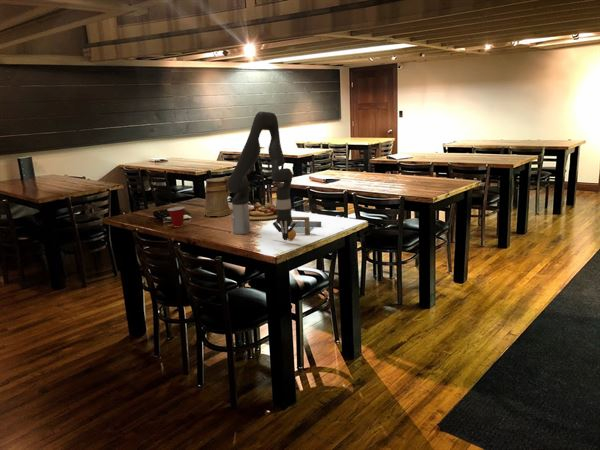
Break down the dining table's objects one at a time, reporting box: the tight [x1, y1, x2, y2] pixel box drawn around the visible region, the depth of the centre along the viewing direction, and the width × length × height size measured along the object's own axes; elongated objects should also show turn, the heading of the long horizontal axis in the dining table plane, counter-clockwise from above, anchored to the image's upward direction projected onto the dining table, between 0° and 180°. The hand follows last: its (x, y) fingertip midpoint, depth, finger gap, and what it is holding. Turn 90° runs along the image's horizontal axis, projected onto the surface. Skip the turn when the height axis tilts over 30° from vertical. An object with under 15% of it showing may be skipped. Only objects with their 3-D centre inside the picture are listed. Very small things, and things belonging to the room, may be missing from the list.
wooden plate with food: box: [249, 201, 277, 222], centre depth 331 cm, size 32×32×8 cm
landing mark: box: [293, 227, 315, 234], centre depth 289 cm, size 13×13×1 cm
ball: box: [287, 228, 297, 240], centre depth 270 cm, size 6×6×6 cm
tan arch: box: [291, 216, 311, 236], centre depth 279 cm, size 3×15×10 cm, turn 74°
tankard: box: [203, 175, 232, 217], centre depth 342 cm, size 18×24×25 cm
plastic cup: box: [167, 206, 185, 227], centre depth 312 cm, size 11×11×12 cm
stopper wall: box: [289, 220, 322, 228], centre depth 297 cm, size 20×2×3 cm, turn 74°
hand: (285, 239), depth 262 cm, fingers closed
